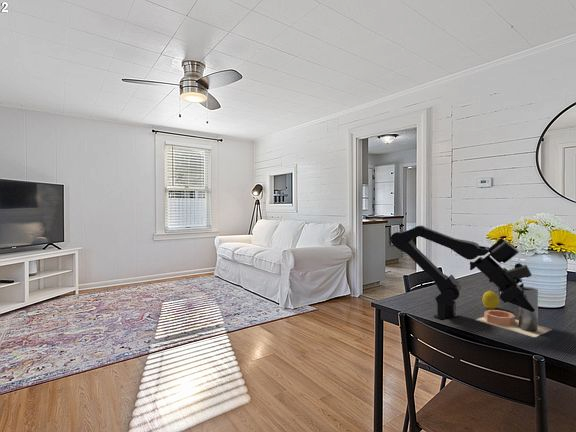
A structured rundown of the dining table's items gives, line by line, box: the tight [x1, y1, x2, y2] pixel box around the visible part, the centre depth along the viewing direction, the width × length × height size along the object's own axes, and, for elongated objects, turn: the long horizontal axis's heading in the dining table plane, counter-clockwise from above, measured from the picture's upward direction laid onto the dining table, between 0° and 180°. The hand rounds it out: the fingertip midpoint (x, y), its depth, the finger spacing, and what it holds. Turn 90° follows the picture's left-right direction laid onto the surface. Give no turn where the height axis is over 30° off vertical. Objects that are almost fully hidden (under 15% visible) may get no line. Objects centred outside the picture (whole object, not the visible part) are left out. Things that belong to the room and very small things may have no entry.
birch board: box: [475, 316, 553, 338], centre depth 110 cm, size 12×18×1 cm, turn 29°
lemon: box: [481, 290, 500, 310], centre depth 128 cm, size 6×6×8 cm
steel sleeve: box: [518, 286, 539, 331], centre depth 106 cm, size 5×5×13 cm
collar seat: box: [483, 309, 516, 326], centre depth 114 cm, size 9×9×2 cm
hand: (533, 308), depth 105 cm, fingers closed on steel sleeve, 5 cm apart
